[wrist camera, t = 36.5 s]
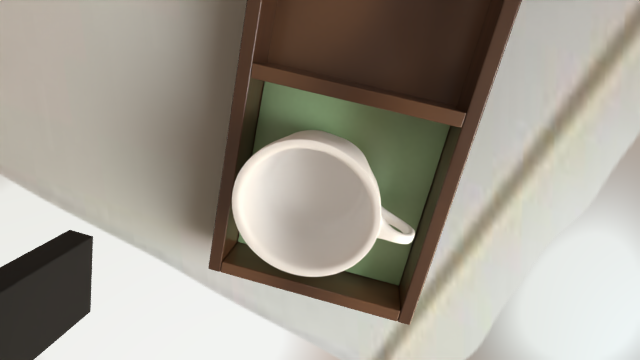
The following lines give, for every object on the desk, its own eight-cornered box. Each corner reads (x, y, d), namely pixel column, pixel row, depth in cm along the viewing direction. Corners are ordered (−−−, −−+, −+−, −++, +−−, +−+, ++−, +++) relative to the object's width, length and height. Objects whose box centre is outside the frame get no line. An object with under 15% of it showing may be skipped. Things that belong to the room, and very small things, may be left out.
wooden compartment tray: (548, -135, 20) (582, -173, 17) (407, 293, 28) (410, 325, 25) (295, -180, 21) (278, -226, 18) (228, 244, 29) (207, 268, 26)
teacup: (247, 211, 27) (216, 247, 22) (280, 103, 25) (253, 115, 20) (388, 264, 27) (388, 313, 22) (435, 159, 24) (448, 186, 19)
